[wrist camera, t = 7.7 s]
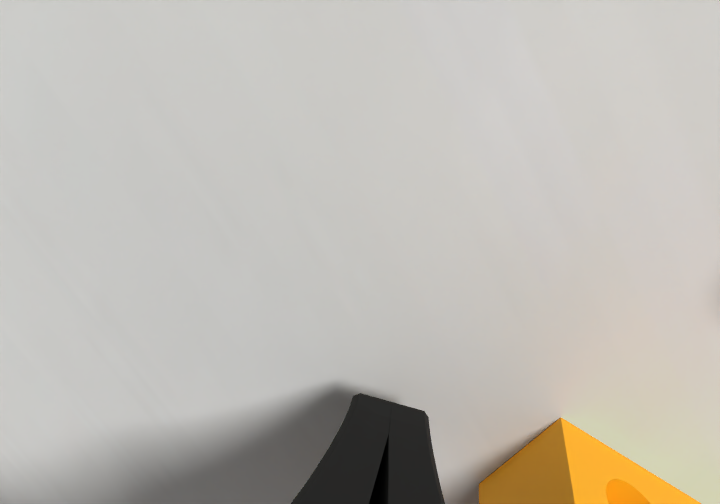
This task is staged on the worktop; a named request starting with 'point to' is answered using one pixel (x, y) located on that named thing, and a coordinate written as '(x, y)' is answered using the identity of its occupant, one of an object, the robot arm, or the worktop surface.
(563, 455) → the notched yellow bracket
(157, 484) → the worktop surface
